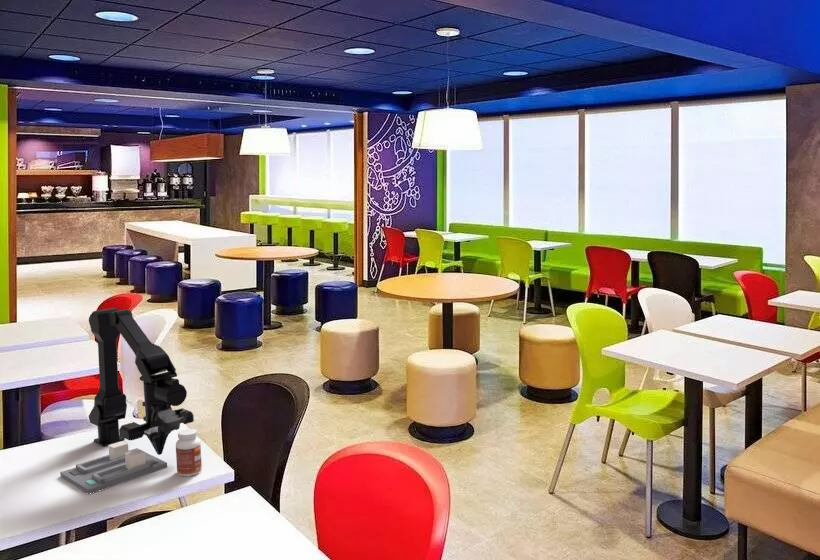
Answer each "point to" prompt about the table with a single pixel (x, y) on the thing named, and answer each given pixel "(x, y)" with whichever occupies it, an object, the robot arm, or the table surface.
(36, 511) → the table surface
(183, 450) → the pill bottle
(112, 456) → the tab
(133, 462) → the tab
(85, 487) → the switch board
